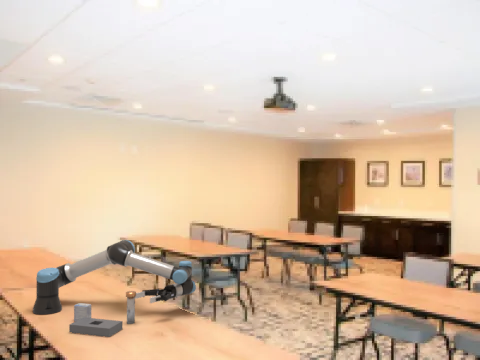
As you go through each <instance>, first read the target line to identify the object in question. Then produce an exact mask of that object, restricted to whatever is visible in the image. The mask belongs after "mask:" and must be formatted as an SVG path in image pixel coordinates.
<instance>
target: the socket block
mask: <svg viewBox="0 0 480 360" xmlns="http://www.w3.org/2000/svg"><path fill="white" fill-rule="evenodd" d="M123 324H124V323H123V320H114V319H106V318H105V319H104V318H94V317H91V318H86V317H84V318H82V319H80V320H78V321H74V322H71V323H70V324H69V325H68V326H69V330H68V331H69V332H72V333H71V334H76V333H80V334H79V335H85V334H88V335H87V336H94V335H96V337H103V336H105V338H111V337H112V336H114V335H116V333H118V332H120V331H123Z"/></svg>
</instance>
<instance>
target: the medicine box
mask: <svg viewBox="0 0 480 360" xmlns="http://www.w3.org/2000/svg"><path fill="white" fill-rule="evenodd" d="M84 317H86V318H92V304H91V303H84V302H83V303H81V302H79V303H76V304H75V305H73V321H74V322H76V321H78V320H80V319H82V318H84Z"/></svg>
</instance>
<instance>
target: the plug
mask: <svg viewBox="0 0 480 360" xmlns="http://www.w3.org/2000/svg"><path fill="white" fill-rule="evenodd" d="M136 293H137V291H135V290H131V291H130V290H129V291H126V292H125V297H126V324H127V325H133V324H135V323H136V322H135V320H136V317H135V316H136V315H135V314H136V299H135V297H136Z"/></svg>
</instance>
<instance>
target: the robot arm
mask: <svg viewBox="0 0 480 360" xmlns="http://www.w3.org/2000/svg"><path fill="white" fill-rule="evenodd" d="M135 252H136V247H135V245H134V244H133V241H130V240H129V239H123V240H120V241H118V242H115V243H113V244H110V245H108V246H107V247H106V249H105V250H102V251H101V252H98V253H95V254H93V255H91V256H88V257H86V258H83V259H80V260H78V261H76V262H74V263H70V262H68V263H65V264H63V265H59V266H56V267H46V268H42V269H39V271H37V273H36V278H35V280H36V291H35V292H36V294H35V295H36V298H35V302H34V304H33V307H32V313H33V314H35V315H52V314H56V313H59V312H61V311H62V309H63V308H62V307H63V305H62V303H61V300H60V295H59V293H60V290H59V289H60V288H62V287H64V286H66V285H69V284H71V283H73V282H75V281H76V279H77V278H79V277H82V276H84V275H86V274H89V273H91V272H93V271H94V272H95V271H96V270H99V269H102V268H105V267H106V266H109V265H111V264H112V265H118V266H119V265H120V266H122V267H126V268H127V267H131V268H134V269H138V270H139V271H140V270H141V271H143V272H147V273H150V274H153V275H157V276H159V277H162V278H166V279H169V280H172V281H173V282H174V283H172V284H167V285H165V286H164V287H163V288H161V289H160V288H155V289H143V290H142V291H140V292H136V297H135V300H136V299H139V298H145V297H146V296H147V297H150V298H149V304H154V303H157V302H161V301H162V302H163V301H164V302H167V301H169V300H171V299H174V298H176V299H177V298H178V297H182V296H186V295H187V296H188V295H190V294H192V293H194V292H196V289H197V285H196V281H194V280H193V277H192V276H193V275H192V274H193V262H192V261H190V260H181V261H179V262H178V263H179V264H178V266H176V265H172V264H169V263H166V262H163V261H160V260H156V259H153V258H150V257H148V256H145V255H141V254H139V253H135Z"/></svg>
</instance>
